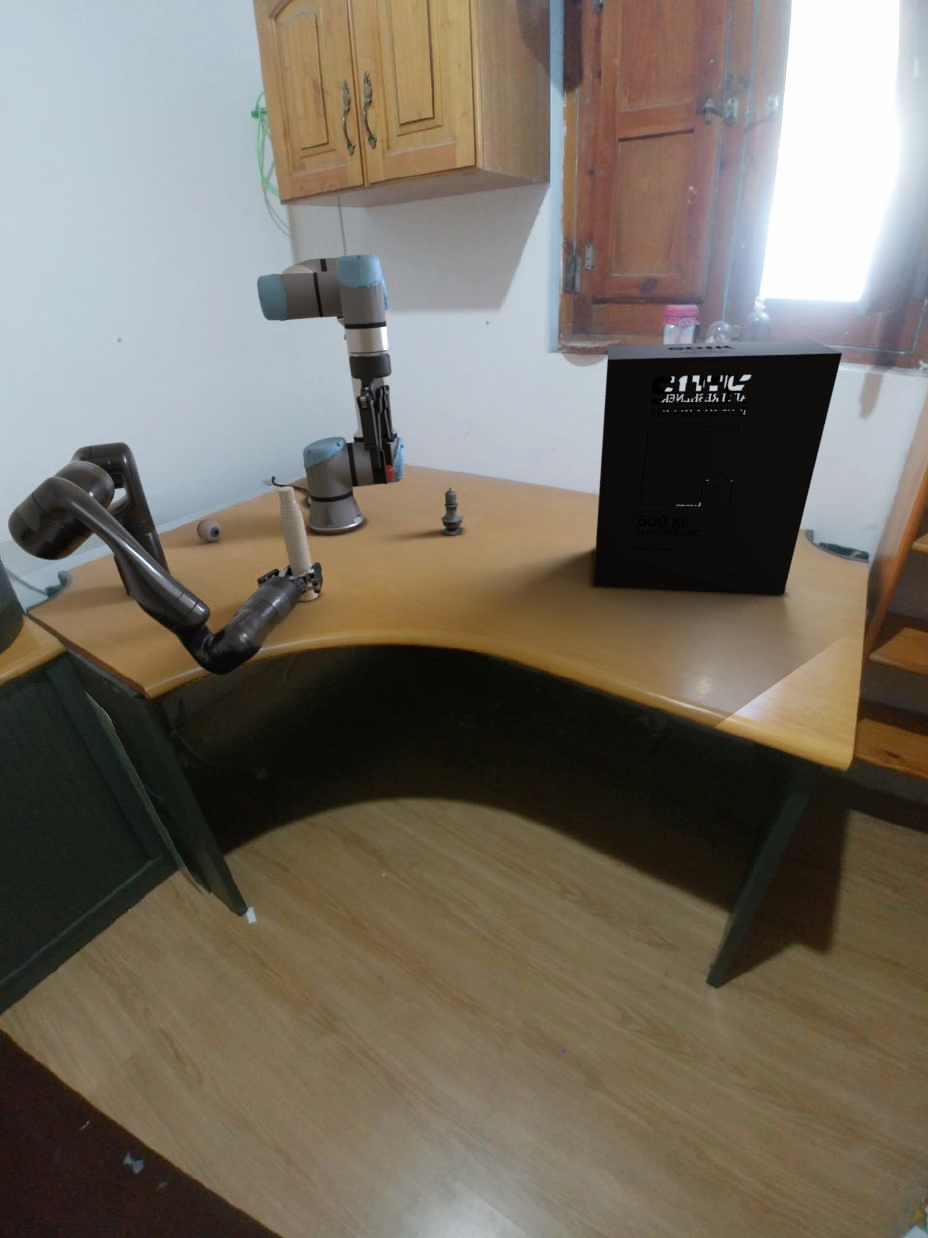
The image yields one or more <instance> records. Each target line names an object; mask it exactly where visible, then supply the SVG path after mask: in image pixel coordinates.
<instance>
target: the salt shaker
mask: <svg viewBox="0 0 928 1238" xmlns="http://www.w3.org/2000/svg"><path fill="white" fill-rule="evenodd" d="M444 497H445V498H444V499H445V500H444V501H445V503H444V505H443V506H444V507H445V514H444V516H442V517H441V518H440V520H441V522H442V525H443V527H445V528H444V529H443V530H442V533H443V534H445V535H447V536H448V535H449V536H455V535H459V534H461V533H463V532H464V529H463V528H462V527H461V525H462V524H463V520H464V516H463V515H461V514H459V511H458V506H459V503H458V501H457V493H456V491H455V490H452V487H449V488H448V490H447V491H446V492H445V493H444Z"/></svg>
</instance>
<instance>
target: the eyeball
mask: <svg viewBox="0 0 928 1238" xmlns="http://www.w3.org/2000/svg"><path fill="white" fill-rule="evenodd" d="M196 534H197V536H198V538H199V539H201V540H202V541H204V542H208V543H209V542H211V543H212V542H215V541H216V540H218V539H219V538H220V536H221V534H222V529H221V526H220V524H219V523H218V522H217V521H216V520H214V519H211V518H206V519H203V520H200V521H199V522H198V524H197V526H196Z"/></svg>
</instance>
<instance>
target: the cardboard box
mask: <svg viewBox="0 0 928 1238" xmlns="http://www.w3.org/2000/svg"><path fill="white" fill-rule="evenodd" d="M842 355H843V352H840V351H838V350H835V349H833V348H831V347H829V346H826V345H823V344H821V343H818V342H815V341H813V340H810V339H790V340H789V339H788V340H783V339H782V340H758V341H757V340H755V341H754V340H753V341H725V342H723V341H721V342H695V343H694V342H692V343H663V344H662V343H661V344H659V343H658V344H634V345H633V344H632V345H629V344H628V345H608V346H607V361H606V376H605V377H606V378H605V393H604V408H603V409H604V411H603V425H602V442H601V458H600V474H599V487H598V488H599V489H598V492H599V493H598V505H597V520H596V521H597V522H596V536H595V537H596V538H595V553H594V555H595V556H594V573H593V586H595V587H596V586H597V587H615V588H616V587H619V588H641V589H659V590H682V591H700V592H701V591H704V592H726V593H745V594H746V593H747V594H766V595H767V594H768V595H784V594H785V592H786V586H787V582H788V578H789V575H790V570H791V566H792V561H793V558H794V553H795V550H796V545H797V541H798V538H799V534H800V529H801V525H802V521H803V516H804V512H805V508H806V504H807V499H808V496H809V491H810V487H811V484H812V480H813V475H814V471H815V466H816V462H817V458H818V454H819V452H820V451H819V450H820V446H821V443H822V437H823V433H824V430H825V425H826V423H827V422H826V421H827V418H828V414H829V409H830V405H831V402H832V397H833V393H834V390H835V389H834V388H835V384H836V381H837V375H838V372H839V367H840V364H841V359H842ZM744 376H749V378H748V379H746V380H742V378H743V377H744ZM684 377H686V382H685V387H684V390H680V387H681V381H680V380H681V379H682V378H684ZM694 377H699V378H698V382H697V381H694ZM709 377H710V381H708V379H709ZM731 378H732V383H731V387H737V386H742V387H741V389H740V390H739V389H738V390H736V389H735V390H732V389H730V388H729V382H730V380H731ZM697 386H699V387H700V390H697ZM711 387H717V388H716V390H710V389H711ZM667 389H671V390H667Z"/></svg>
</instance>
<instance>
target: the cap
mask: <svg viewBox="0 0 928 1238" xmlns="http://www.w3.org/2000/svg"><path fill="white" fill-rule="evenodd" d="M386 472H387V480H388V481H391V480H393V479H394V478H395V476H394V469H393V466H392V465H386Z"/></svg>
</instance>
